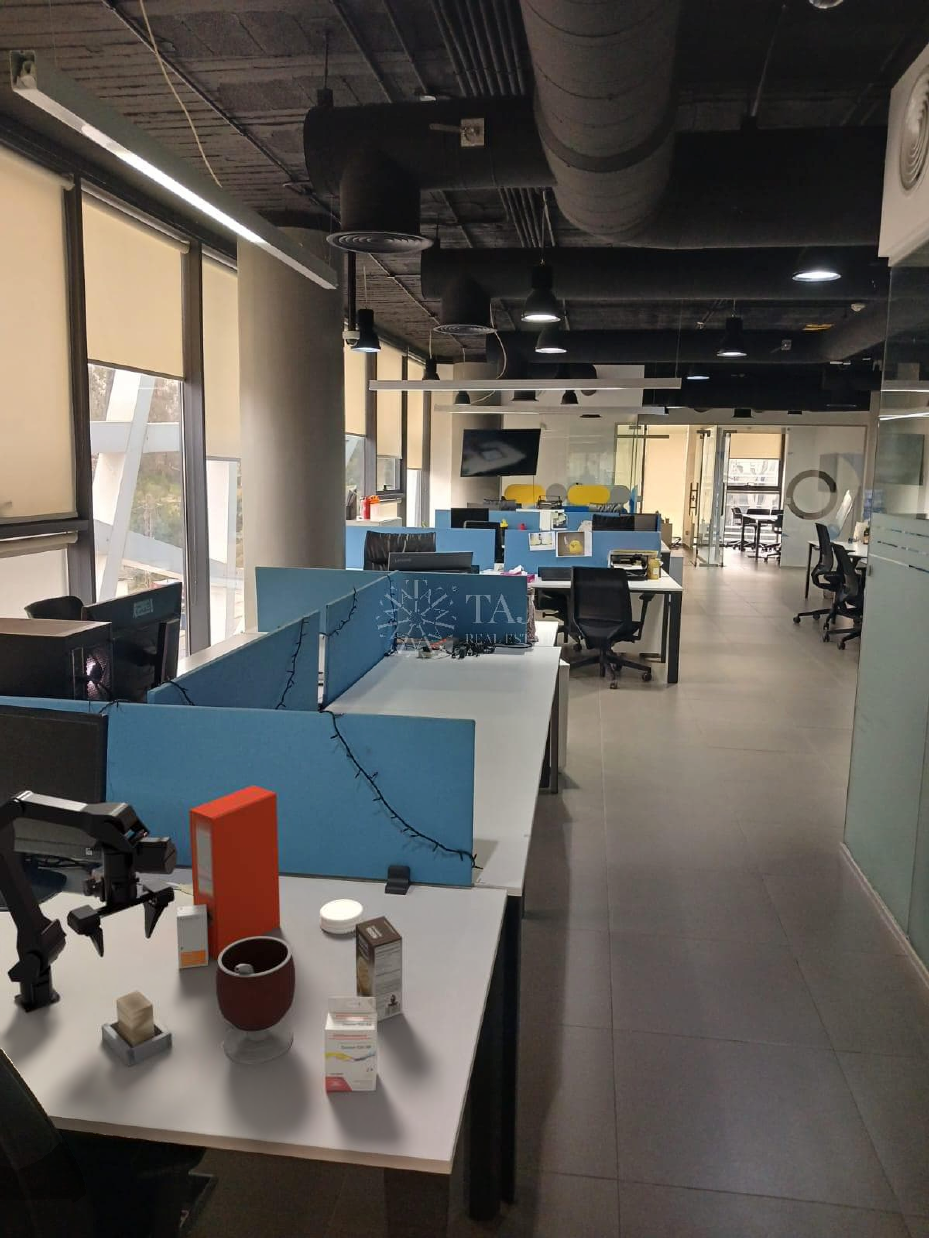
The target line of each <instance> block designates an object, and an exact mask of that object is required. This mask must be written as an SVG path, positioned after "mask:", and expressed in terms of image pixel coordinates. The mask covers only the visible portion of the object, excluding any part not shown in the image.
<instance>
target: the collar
mask: <svg viewBox="0 0 929 1238" xmlns="http://www.w3.org/2000/svg"><path fill="white" fill-rule="evenodd" d="M153 1018H154V1034H155V1037H154V1038H152V1039H150V1040H148V1041H146V1042H144V1043H141V1044H139V1045H137V1046H135V1047H133V1048H131V1047H130V1046H129V1045H128V1044H127V1043H126V1042H125V1041H124V1040H123V1039H122V1038H121V1037H120V1036H119V1032H118V1018H114V1019H112V1020H110V1021H109V1022H106V1023H104V1024H102V1025H101V1036H102V1039H103V1040H104V1041H105V1042H106V1043H107V1044H108V1046H109V1047H110V1048H111V1049H112V1050H113V1051H114V1052H115V1053H116V1054H117V1056H119V1058H120V1059H122V1061H123V1062H125V1064H126V1065H127V1066H128V1067H131V1066H133V1065H135V1064H138V1063H139V1062H141V1061H144V1060H145V1059H147V1058H150V1057H151V1056H153V1055H156V1054H157V1053H160V1052H161V1051H164V1050H166V1049H168V1048H170V1047H172V1046H173V1037H172V1035H173V1034H172V1032H171V1031H170V1030H169V1029H168V1028H167V1027H166V1026H165V1025H164V1024H163V1023H162V1022H160V1020H158V1018H157V1017H156V1016H155V1015H153Z"/></svg>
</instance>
